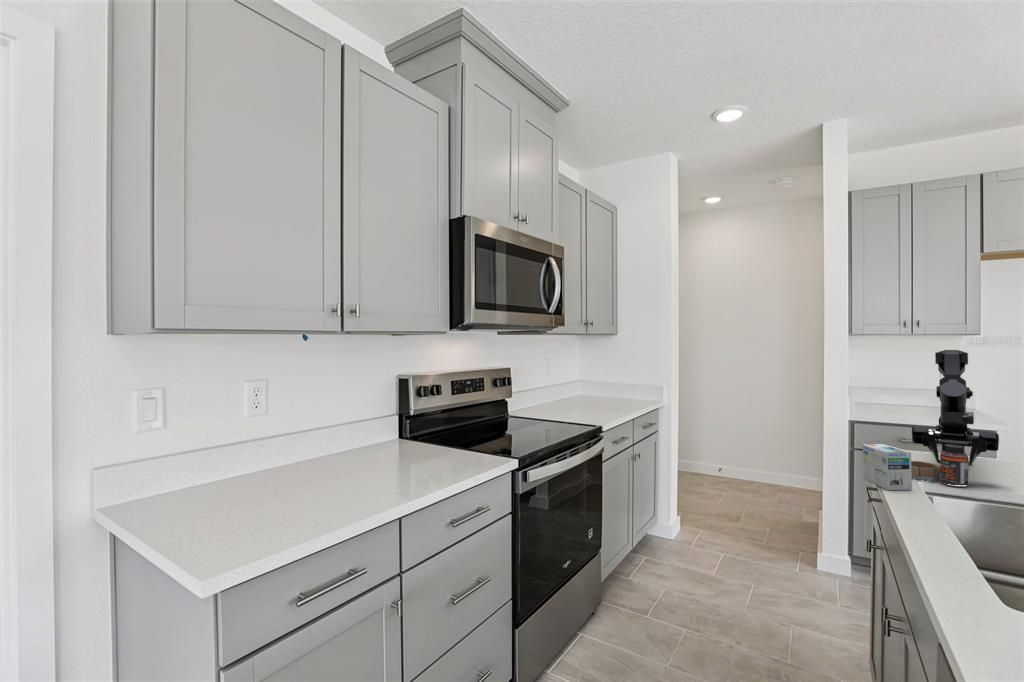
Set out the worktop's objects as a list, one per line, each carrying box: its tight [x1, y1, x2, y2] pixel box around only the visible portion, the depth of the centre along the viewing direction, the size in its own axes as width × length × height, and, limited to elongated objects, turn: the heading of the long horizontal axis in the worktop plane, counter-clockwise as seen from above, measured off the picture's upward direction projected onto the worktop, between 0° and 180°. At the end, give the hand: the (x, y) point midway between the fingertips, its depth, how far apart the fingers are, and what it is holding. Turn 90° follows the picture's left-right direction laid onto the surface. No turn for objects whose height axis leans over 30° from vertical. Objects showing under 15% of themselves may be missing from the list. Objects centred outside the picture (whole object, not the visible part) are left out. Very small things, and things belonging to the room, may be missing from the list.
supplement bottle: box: [939, 444, 969, 486], centre depth 141 cm, size 6×6×11 cm
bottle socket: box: [911, 460, 941, 483], centre depth 150 cm, size 10×10×4 cm
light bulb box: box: [862, 443, 913, 491], centre depth 143 cm, size 11×7×11 cm, turn 179°
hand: (953, 462), depth 140 cm, fingers open, 7 cm apart
